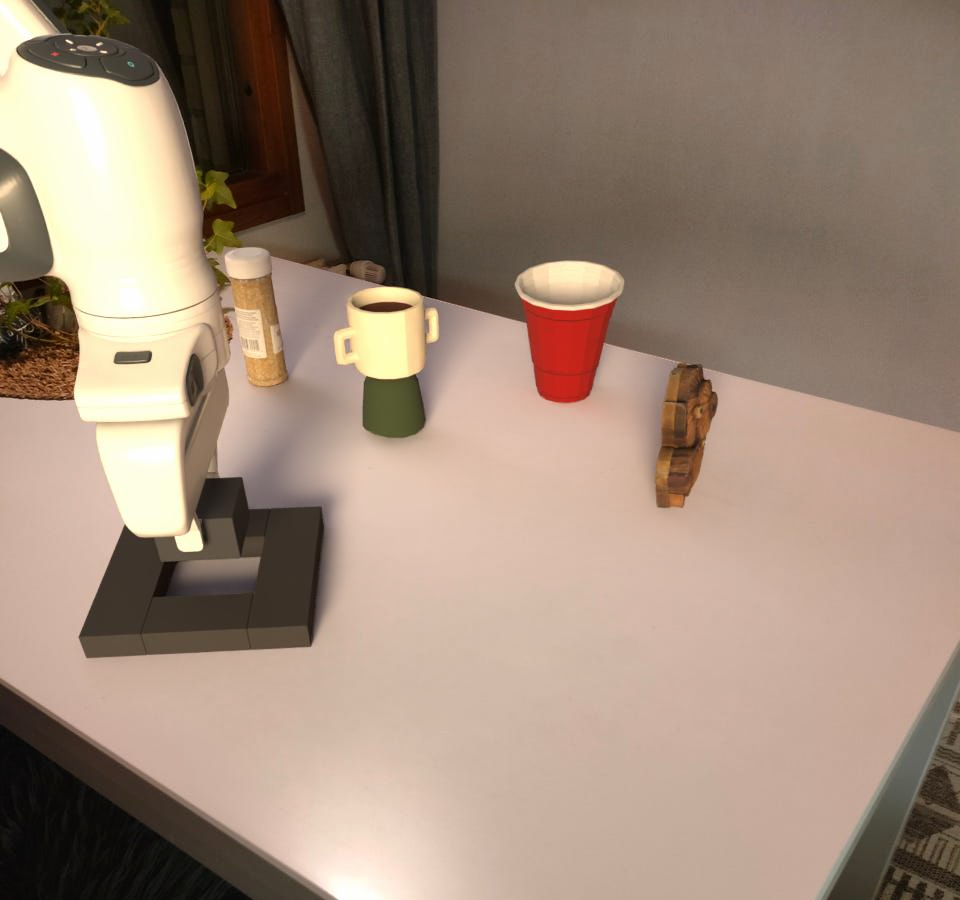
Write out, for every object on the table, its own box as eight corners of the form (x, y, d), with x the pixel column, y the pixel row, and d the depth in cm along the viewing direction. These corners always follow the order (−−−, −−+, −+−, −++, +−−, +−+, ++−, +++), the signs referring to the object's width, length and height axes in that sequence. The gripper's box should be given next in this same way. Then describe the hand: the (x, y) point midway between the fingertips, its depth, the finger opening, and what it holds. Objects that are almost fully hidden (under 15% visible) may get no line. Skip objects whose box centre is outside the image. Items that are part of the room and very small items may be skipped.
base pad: (86, 658, 65) (77, 637, 64) (134, 533, 78) (128, 513, 76) (311, 647, 66) (307, 626, 65) (324, 525, 78) (321, 505, 77)
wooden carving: (700, 532, 77) (720, 423, 71) (646, 525, 78) (660, 418, 72) (707, 440, 90) (724, 341, 83) (660, 436, 90) (673, 337, 84)
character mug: (423, 402, 96) (417, 276, 88) (459, 429, 92) (456, 299, 83) (329, 429, 92) (313, 299, 83) (362, 459, 87) (348, 324, 79)
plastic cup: (497, 404, 96) (498, 289, 88) (533, 364, 103) (536, 254, 95) (597, 423, 92) (607, 304, 85) (626, 380, 100) (637, 267, 92)
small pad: (160, 562, 67) (148, 521, 65) (175, 519, 71) (164, 479, 69) (240, 558, 67) (232, 518, 65) (250, 515, 71) (242, 476, 69)
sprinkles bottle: (296, 379, 101) (278, 252, 92) (261, 391, 98) (239, 263, 90) (272, 366, 103) (253, 242, 95) (238, 378, 101) (214, 252, 92)
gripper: (141, 283, 67) (183, 452, 76) (64, 410, 51) (128, 604, 60) (228, 280, 67) (259, 449, 76) (178, 405, 52) (224, 599, 60)
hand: (201, 519), depth 68 cm, fingers closed on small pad, 6 cm apart
